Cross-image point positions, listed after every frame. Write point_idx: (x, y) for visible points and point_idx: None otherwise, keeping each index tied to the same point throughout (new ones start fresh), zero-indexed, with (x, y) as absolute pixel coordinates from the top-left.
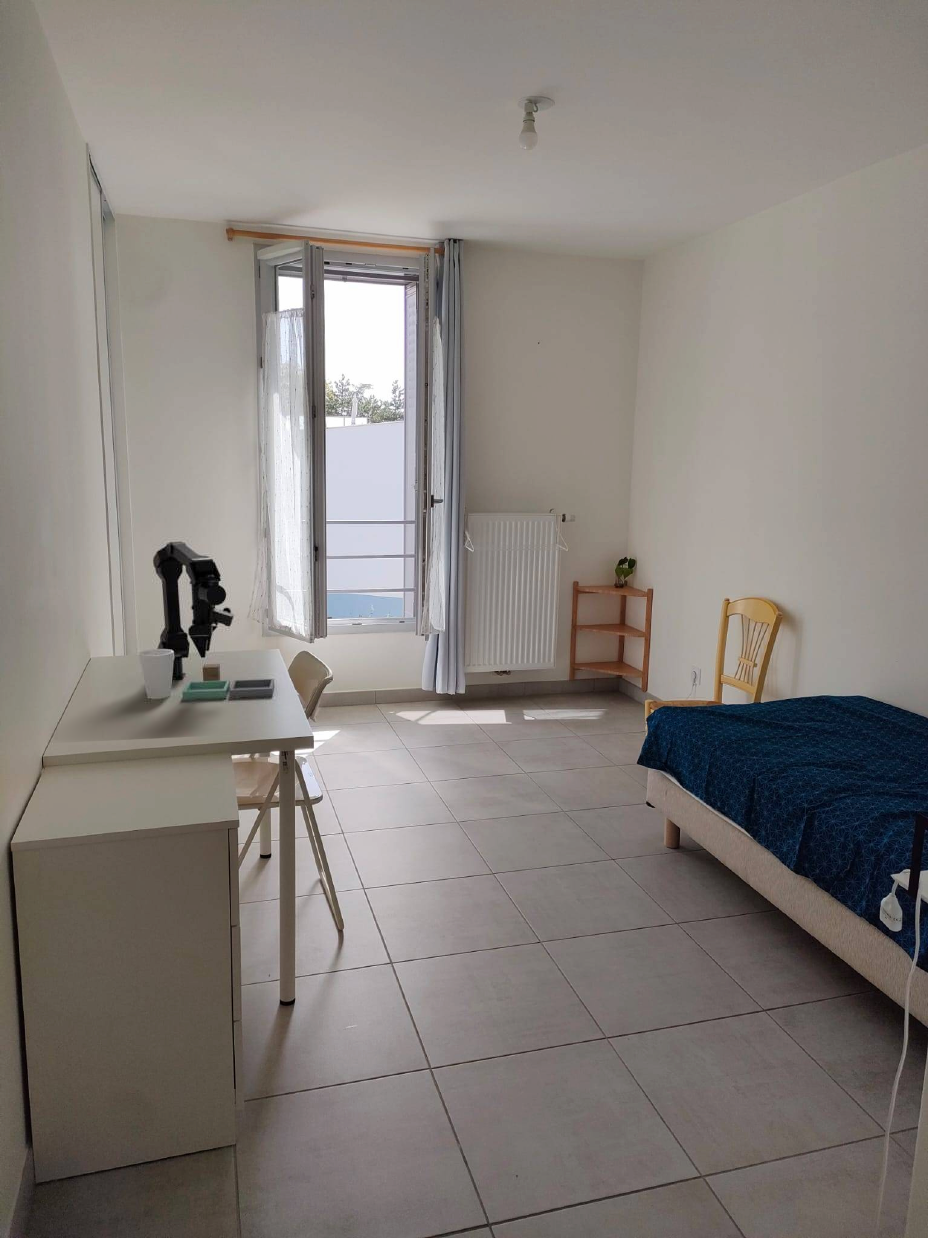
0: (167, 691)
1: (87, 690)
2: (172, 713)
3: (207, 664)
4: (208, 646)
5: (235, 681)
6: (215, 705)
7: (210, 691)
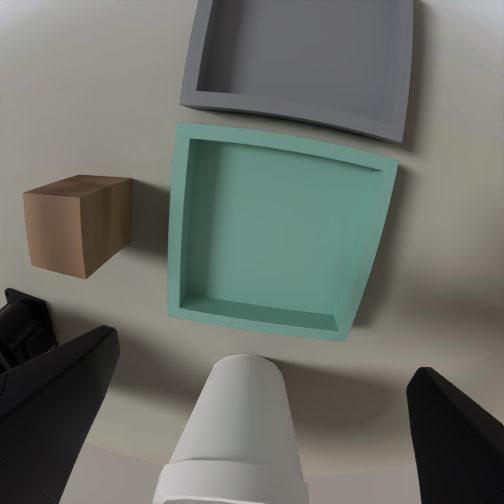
0: (274, 376)
1: (156, 459)
2: (461, 335)
3: (36, 252)
4: (95, 359)
5: (213, 92)
6: (454, 211)
7: (380, 232)
